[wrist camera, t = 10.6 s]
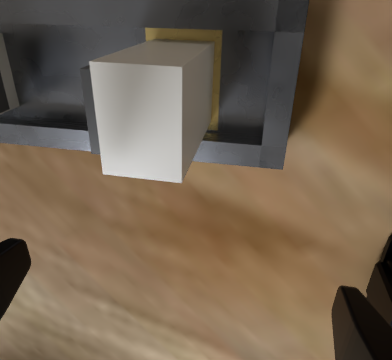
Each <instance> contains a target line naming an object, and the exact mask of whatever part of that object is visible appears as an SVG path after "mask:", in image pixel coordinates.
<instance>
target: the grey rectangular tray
mask: <svg viewBox="0 0 392 360" xmlns="http://www.w3.org/2000/svg"><path fill="white" fill-rule="evenodd" d="M308 5H309V0H0V33H2V35H3V39H4V43H5V47H6V51H7V55H8V60H9V64H10V68H11V72H12V76H13V80H14V85H15V89H16V93H17V97H18V101H19V105H20V106H19V107H16V108H14V109H12V110H10V111H7V112H5V113H3V114H0V143H9V144H19V145H30V146H40V147H51V148H61V149H72V150H82V151H91V147H90V140H89V133H88V125H87V118H86V111H85V104H84V96H83V89H82V82H81V75H80V68H82V67H85V66H88V65H89V61H92V60H95V59H97V58H100V57H103V56H106V55H109V54H112V53H115V52H118V51H120V50H123V49H126V48H129V47H132V46H135V45H138V44H141V43H144V42H146V41H149V40H152V39H172V40H193V41H214V42H215V44H214V66H213V87H212V109H211V122H210V124H209V126H208V129H207V131H206V133H205V135H204V137H203V139H202V141H201V143H200V146H199V148H198V150H197V152H196V154H195V156H194V158H193V160H192V161H198V162H208V163H219V164H229V165H240V166H250V167H261V168H271V169H282V170H283V166H284V159H285V153H286V146H287V140H288V133H289V127H290V120H291V114H292V108H293V101H294V95H295V88H296V82H297V75H298V69H299V63H300V56H301V50H302V43H303V37H304V30H305V24H306V17H307V11H308Z"/></svg>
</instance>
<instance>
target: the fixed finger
mask: <svg viewBox="0 0 392 360" xmlns="http://www.w3.org/2000/svg"><path fill="white" fill-rule="evenodd" d="M19 106H20V105H19V101H18V97H17V93H16V89H15V85H14V80H13V76H12V72H11V68H10V64H9V60H8V55H7V51H6V47H5V43H4V39H3V35H2V33H0V114H3V113H5V112H7V111H10V110H12V109H14V108H16V107H19Z"/></svg>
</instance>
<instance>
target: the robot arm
mask: <svg viewBox="0 0 392 360" xmlns="http://www.w3.org/2000/svg"><path fill="white" fill-rule="evenodd" d="M30 266H31V258H30V255H29V251H28V248H27V244H26V242H25V241H24V240H22V239H16V238H9V239H7V240H4V241H2V242H0V320H1V318H2V317H3V315H4V314H5V312H6V310H7V308H8V307H9V305H10V303H11V301H12V300H13V298H14V296H15V294H16V292H17V290H18V289H19V287H20V285H21V283H22V281H23V280H24V278H25V276H26V274H27V272H28V271H29V269H30ZM366 292H367V298H366V297H365V296H364V295H363V294H362V293H361V292H360V291H359V290H358V289H357V288H355V287H349V286H339V288H338V290H337V293H336V297H335V300H334V303H333V307H332V326H333V338H334V349H335V360H392V235H391V236H390V237H389V238H388V240H387V243H386V245H385V248H384V251H383V254H382V256H381V259H380V261H379V262H377V263H376V264H375V267H374V270H373V272H372V275H371V278H370V281H369V284H368V286H367V289H366Z"/></svg>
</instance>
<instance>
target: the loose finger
mask: <svg viewBox="0 0 392 360" xmlns="http://www.w3.org/2000/svg"><path fill="white" fill-rule="evenodd" d="M214 44H215V42H214V41H193V40H172V39H152V40H149V41H146V42H144V43H141V44H138V45H135V46H132V47H129V48H126V49H123V50H120V51H118V52H115V53H112V54H109V55H106V56H103V57H100V58H97V59H95V60H92V61H89V65H88V66H85V67H82V68H80V75H81V82H82V89H83V96H84V104H85V111H86V118H87V125H88V133H89V140H90V147H91V154H100V155H101V162H102V170H103V174H106V175H115V176H124V177H133V178H141V179H150V180H159V181H168V182H176V183H182V182H183V179H184V177H185V175H186V173H187V171H188V169H189V167H190V165H191V162H192V160H193V158H194V156H195V154H196V152H197V150H198V148H199V146H200V143H201V141H202V139H203V137H204V135H205V133H206V131H207V129H208V126H209V124H210V122H211V109H212V87H213V66H214Z"/></svg>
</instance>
